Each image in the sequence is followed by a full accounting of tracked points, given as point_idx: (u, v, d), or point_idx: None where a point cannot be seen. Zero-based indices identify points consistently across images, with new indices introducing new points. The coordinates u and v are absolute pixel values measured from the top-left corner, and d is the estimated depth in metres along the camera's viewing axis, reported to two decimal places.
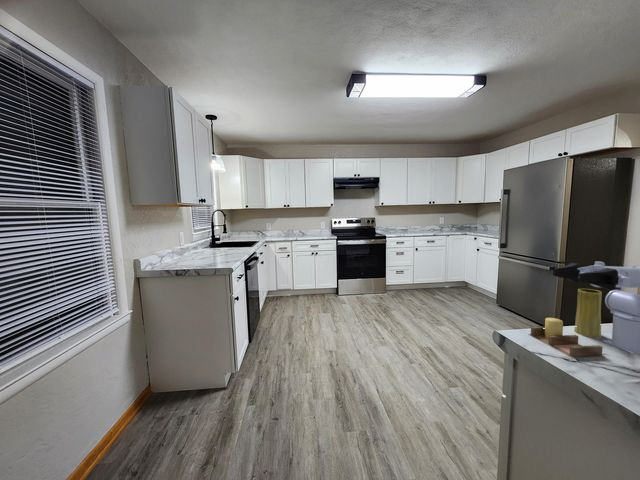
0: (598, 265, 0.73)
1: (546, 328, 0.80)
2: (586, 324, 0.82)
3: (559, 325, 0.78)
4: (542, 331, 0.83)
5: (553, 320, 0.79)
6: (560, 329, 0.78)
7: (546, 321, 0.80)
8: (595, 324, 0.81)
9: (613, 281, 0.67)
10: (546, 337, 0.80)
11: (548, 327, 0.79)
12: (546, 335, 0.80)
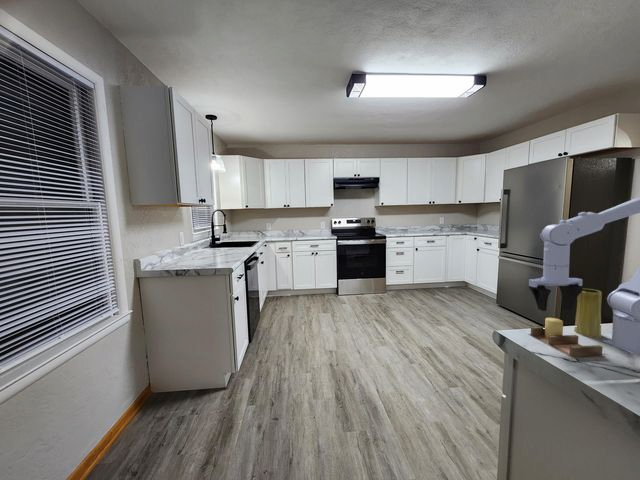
0: None
1: (546, 328, 0.80)
2: (586, 324, 0.82)
3: (559, 325, 0.78)
4: (542, 331, 0.83)
5: (553, 320, 0.79)
6: (560, 329, 0.78)
7: (546, 321, 0.80)
8: (595, 324, 0.81)
9: (536, 289, 0.78)
10: (546, 337, 0.80)
11: (548, 327, 0.79)
12: (546, 335, 0.80)
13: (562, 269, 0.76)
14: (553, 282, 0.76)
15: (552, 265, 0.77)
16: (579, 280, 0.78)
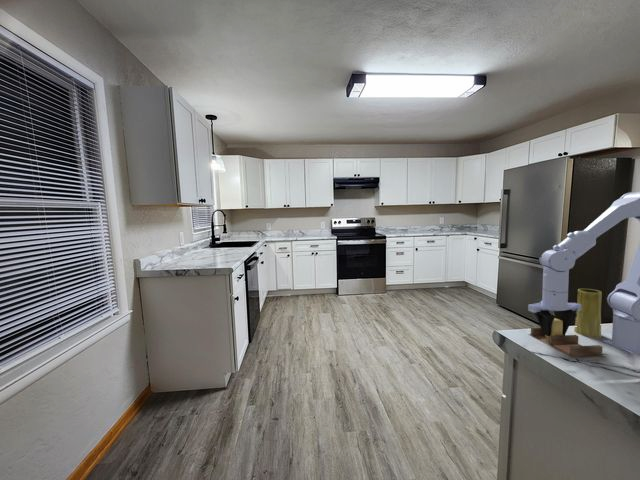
0: None
1: None
2: (586, 324, 0.82)
3: (559, 325, 0.78)
4: None
5: (553, 320, 0.79)
6: (560, 329, 0.78)
7: None
8: (595, 324, 0.81)
9: (541, 314, 0.79)
10: (546, 337, 0.80)
11: None
12: (546, 335, 0.80)
13: (561, 295, 0.76)
14: (552, 308, 0.77)
15: (551, 291, 0.77)
16: (578, 305, 0.78)
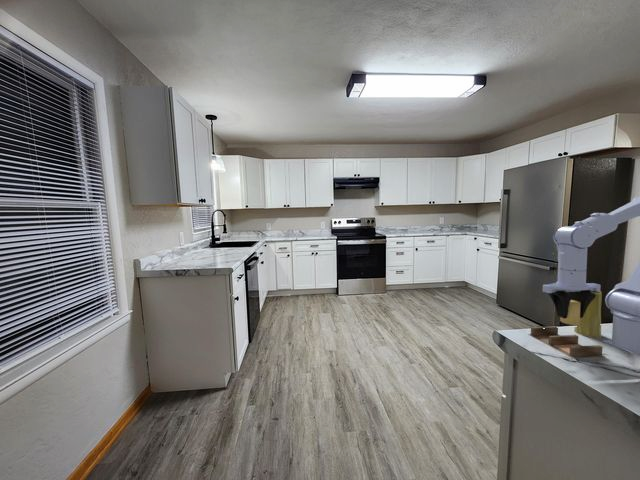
0: None
1: None
2: (586, 324, 0.82)
3: (576, 306, 0.72)
4: (542, 331, 0.83)
5: (570, 301, 0.74)
6: (577, 311, 0.72)
7: None
8: (595, 324, 0.81)
9: (556, 295, 0.74)
10: (562, 320, 0.75)
11: None
12: (562, 318, 0.75)
13: (579, 274, 0.71)
14: (569, 288, 0.72)
15: (568, 270, 0.72)
16: (597, 286, 0.73)
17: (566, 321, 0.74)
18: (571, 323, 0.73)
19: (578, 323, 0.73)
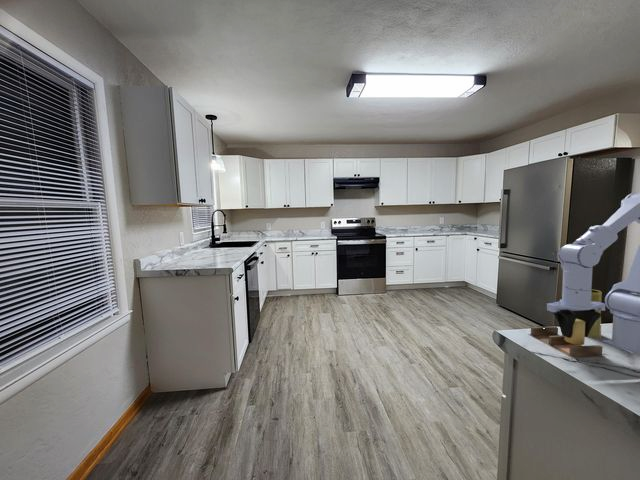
0: None
1: None
2: None
3: (581, 326, 0.71)
4: (542, 331, 0.83)
5: None
6: (582, 330, 0.71)
7: None
8: (595, 324, 0.81)
9: (561, 314, 0.72)
10: (566, 339, 0.74)
11: None
12: (566, 337, 0.74)
13: (584, 293, 0.70)
14: (574, 307, 0.70)
15: (573, 289, 0.71)
16: (602, 305, 0.72)
17: (571, 340, 0.73)
18: (576, 343, 0.72)
19: (583, 342, 0.72)
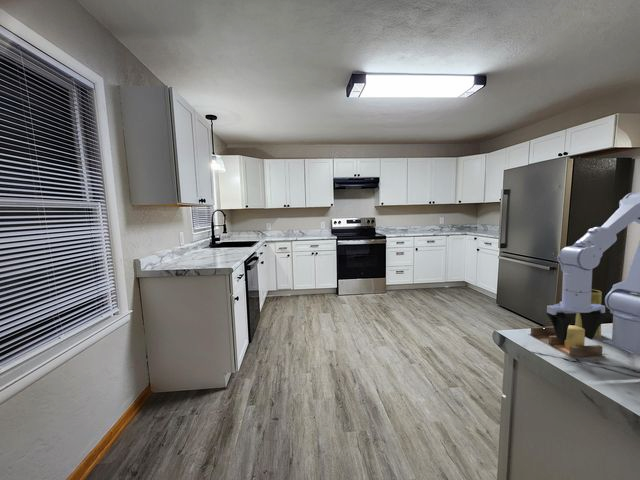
0: None
1: None
2: None
3: (581, 333, 0.71)
4: (542, 331, 0.83)
5: (574, 328, 0.73)
6: (582, 338, 0.71)
7: None
8: None
9: (555, 316, 0.72)
10: (566, 346, 0.74)
11: (568, 336, 0.73)
12: (566, 344, 0.74)
13: (584, 296, 0.70)
14: (574, 310, 0.70)
15: (573, 291, 0.71)
16: (602, 307, 0.72)
17: None
18: None
19: None
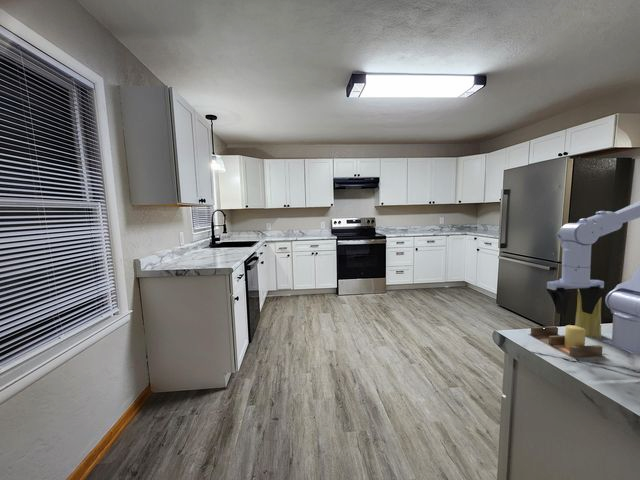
0: None
1: (567, 336, 0.74)
2: (586, 324, 0.82)
3: (581, 333, 0.71)
4: (542, 331, 0.83)
5: (575, 328, 0.73)
6: (582, 338, 0.71)
7: (567, 329, 0.74)
8: (595, 324, 0.81)
9: (555, 292, 0.74)
10: (566, 346, 0.74)
11: (569, 336, 0.73)
12: (566, 344, 0.74)
13: (583, 270, 0.71)
14: (574, 284, 0.72)
15: (572, 266, 0.72)
16: (600, 282, 0.73)
17: None
18: None
19: None
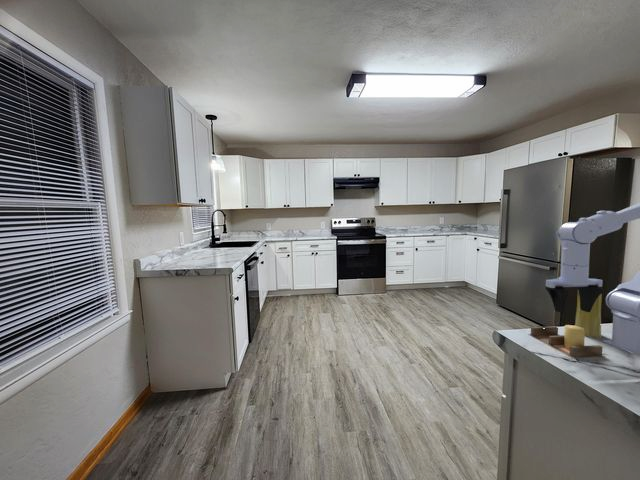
0: None
1: (566, 336, 0.74)
2: (586, 324, 0.82)
3: (580, 333, 0.71)
4: (542, 331, 0.83)
5: (574, 327, 0.73)
6: (581, 337, 0.71)
7: (565, 328, 0.74)
8: (595, 324, 0.81)
9: (554, 290, 0.75)
10: (566, 346, 0.74)
11: (568, 335, 0.73)
12: (566, 344, 0.74)
13: (582, 269, 0.72)
14: (572, 283, 0.73)
15: (571, 265, 0.73)
16: (599, 281, 0.74)
17: None
18: None
19: None
